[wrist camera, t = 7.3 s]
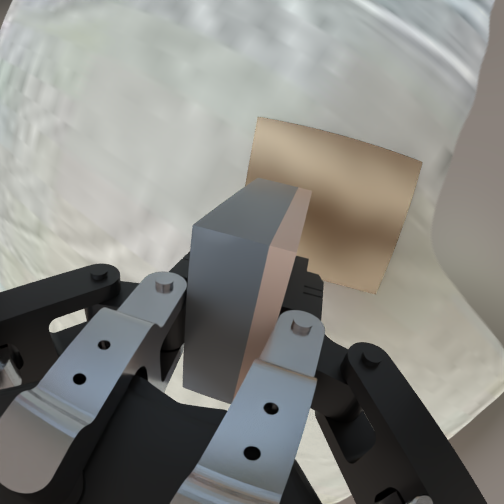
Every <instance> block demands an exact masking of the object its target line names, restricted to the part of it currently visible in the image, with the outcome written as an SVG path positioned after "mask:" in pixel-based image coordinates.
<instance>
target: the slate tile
mask: <svg viewBox="0 0 504 504" xmlns="http://www.w3.org/2000/svg"><path fill="white" fill-rule="evenodd" d="M311 194H312V191H311V190H307V189H303V188H299V187H295V186H291V185H287V184H283V183H279V182H275V181H271V180H266V179H262V178H256V179H255V180H254V181H252V182H251V183H249V184H248V185H247V186H245V187H244V188H242V189H241V190H240V191H238V192H237V193H235V194H234V195H233V196H231V197H230V198H228V199H227V200H226V201H224V202H223V203H222V204H220V205H219V206H218V207H216V208H215V209H214V210H212V211H211V212H210V213H208V214H207V215H205V216H204V217H203V218H202V219H200V220H199V221H198V222H196V223H195V224H194V225H193V229H192V239H191V249H190V260H189V272H188V285H187V299H186V316H185V336H184V359H183V387H184V388H187V389H189V390H192V391H195V392H197V393H200V394H203V395H205V396H208V397H211V398H214V399H217V400H220V401H223V402H226V403H229V404H232V402H233V400H234V398H235V396H236V394H237V392H238V391H239V389H240V387H241V385H242V383H243V381H244V379H245V377H246V375H247V373H248V372H249V370H250V368H251V366H252V364H253V362H254V360H255V359H256V358H259V357H260V355H261V353H262V351H263V349H264V347H265V345H266V343H267V341H268V339H269V337H270V335H271V333H272V331H273V329H274V326H275V324H276V322H277V320H278V316H279V313H280V310H281V306H282V303H283V300H284V296H285V293H286V289H287V286H288V282H289V279H290V275H291V271H292V268H293V264H294V261H295V257H296V253H297V249H298V246H299V242H300V238H301V234H302V230H303V226H304V222H305V218H306V214H307V210H308V206H309V202H310V198H311Z"/></svg>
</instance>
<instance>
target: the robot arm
mask: <svg viewBox="0 0 504 504" xmlns="http://www.w3.org/2000/svg"><path fill="white" fill-rule="evenodd" d="M189 260H190V252H189V253H188V254H187V255H185V256H184V257H183V259H181V260H180V261H179V262H178V263H177V264H176V265H175V266H174V267H173V268H172V269H171V270H170V271H169V272H155V273H152V274H149V275H148V276H146V277H145V278H144V279H143V280H142V281H141V283H132V282H124V281H120V272H119V270H118V269H117V268H116V267H114V266H112V265H109V264H94V265H90V266H86V267H83V268H80V269H76V270H73V271H69V272H66V273H62V274H59V275H56V276H52V277H49V278H46V279H42V280H39V281H36V282H32V283H29V284H26V285H23V286H19V287H16V288H13V289H10V290H7V291H4V292H0V504H322V503H321V501H320V499H319V498H318V496H317V494H316V493H315V491H314V489H313V488H312V486H311V484H310V483H309V481H308V479H307V478H306V476H305V474H304V472H303V471H302V469H301V467H300V466H299V464H298V462H297V461H296V460H295V457H296V453H297V450H298V447H299V444H300V441H301V437H302V434H303V431H304V427H305V424H306V421H307V417H308V414H309V410H310V408H312V409H313V410H315V416H316V419H317V421H318V423H319V425H320V427H321V430H322V432H323V434H324V436H325V438H326V440H327V443H328V445H329V447H330V449H331V451H332V453H333V455H334V458H335V460H336V462H337V464H338V466H339V468H340V470H341V473H342V475H343V477H344V479H345V481H346V483H347V485H348V487H349V490H350V492H351V494H352V496H353V498H354V500H355V502H356V504H487V502H486V501H485V499H484V497H483V495H482V494H481V492H480V490H479V489H478V487H477V485H476V484H475V482H474V480H473V479H472V477H471V476H470V474H469V472H468V471H467V469H466V468H465V466H464V464H463V463H462V461H461V460H460V458H459V457H458V455H457V453H456V452H455V450H454V449H453V447H452V446H451V444H450V443H449V441H448V440H447V438H446V437H445V435H444V434H443V432H442V431H441V429H440V428H439V426H438V425H437V423H436V422H435V420H434V419H433V417H432V416H431V414H430V413H429V411H428V410H427V409H426V407H425V406H424V404H423V403H422V401H421V400H420V398H419V397H418V396H417V394H416V393H415V391H414V390H413V389H412V387H411V386H410V384H409V383H408V382H407V380H406V379H405V377H404V376H403V375H402V373H401V372H400V370H399V369H398V368H397V366H396V365H395V364H394V362H393V361H392V360H391V358H390V357H389V355H388V354H387V353H386V352H385V351H384V350H382V349H381V348H380V347H378V346H376V345H374V344H370V343H365V342H360V343H355V344H353V345H352V346H351V347H350V348H349V350H348V349H346V348H344V347H342V346H340V345H338V344H336V343H335V342H333V341H332V340H330V339H329V338H328V337H327V336H326V335H325V327H324V325H323V323H322V322H321V315H322V301H323V299H322V298H323V285H324V282H323V281H322V279H321V277H320V276H319V274H315V273H312V272H308V271H307V267H308V261H309V259H307V258H304V257H300V256H296V257H295V261H294V264H293V268H292V271H291V275H290V279H289V282H288V286H287V289H286V293H285V296H284V300H283V303H282V306H281V310H280V313H279V316H278V320H277V322H276V324H275V326H274V329H273V331H272V333H271V335H270V337H269V339H268V341H267V343H266V345H265V347H264V349H263V351H262V353H261V355H260V357H259V358H256V359H255V360H254V362H253V364H252V366H251V368H250V370H249V372H248V373H247V375H246V377H245V379H244V381H243V383H242V385H241V387H240V389H239V391H238V392H237V394H236V396H235V398H234V400H233V402H232V404H231V405H230V407H229V409H228V411H227V410H223V409H214V408H206V407H199V406H192V405H186V404H181V403H178V402H176V401H175V400H173V399H172V398H170V397H169V396H168V395H166V394H165V390H166V387H167V385H168V383H169V381H170V378H171V376H172V374H173V372H174V370H175V368H176V366H177V363H178V361H179V359H180V357H181V355H182V353H183V349H184V336H185V316H186V299H187V285H188V272H189ZM81 309H85V314H86V319H87V322H84V323H81V324H78V325H75V326H73V327H70V328H67V329H64V330H62V331H59V332H56V333H51V332H49V325H50V323H51V321H52V320H54V319H55V318H58V317H61V316H64V315H67V314H70V313H73V312H75V311H78V310H81ZM363 411H364V412H363ZM367 418H368V419H367ZM371 425H372V426H371Z"/></svg>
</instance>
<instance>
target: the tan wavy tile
mask: <svg viewBox="0 0 504 504" xmlns="http://www.w3.org/2000/svg"><path fill="white" fill-rule="evenodd" d="M421 166H422V162H421V161H418V160H416V159H413V158H410V157H407V156H405V155H402V154H399V153H396V152H393V151H390V150H387V149H384V148H381V147H378V146H375V145H372V144H369V143H366V142H362V141H359V140H356V139H352V138H349V137H345V136H342V135H338V134H334V133H330V132H326V131H323V130H319V129H314V128H310V127H306V126H302V125H297V124H293V123H288V122H283V121H278V120H273V119H268V118H262V117H258V118H257V123H256V129H255V134H254V140H253V145H252V150H251V156H250V161H249V167H248V173H247V178H246V184H245V186H247V185H248V184H249V183H251V182H252V181H254V180H255V179H256V178H262V179H266V180H271V181H275V182H279V183H283V184H287V185H291V186H295V187H299V188H303V189H307V190H311V191H312V194H311V198H310V202H309V206H308V210H307V214H306V218H305V222H304V226H303V230H302V234H301V238H300V242H299V246H298V249H297V253H296V256H300V257H304V258H307V259H309V261H308V267H307V271H308V272H312V273H315V274H319V276H320V277H321V279H322V280H324V281H327V282H331V283H335V284H339V285H342V286H346V287H350V288H353V289H357V290H361V291H365V292H368V293H372V294H376V292H377V290H378V288H379V285H380V283H381V281H382V278H383V276H384V274H385V271H386V269H387V266H388V264H389V261H390V259H391V256H392V254H393V251H394V249H395V246H396V243H397V241H398V238H399V235H400V232H401V230H402V227H403V224H404V221H405V218H406V215H407V212H408V209H409V206H410V203H411V200H412V197H413V194H414V190H415V187H416V184H417V180H418V177H419V173H420V170H421Z"/></svg>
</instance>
